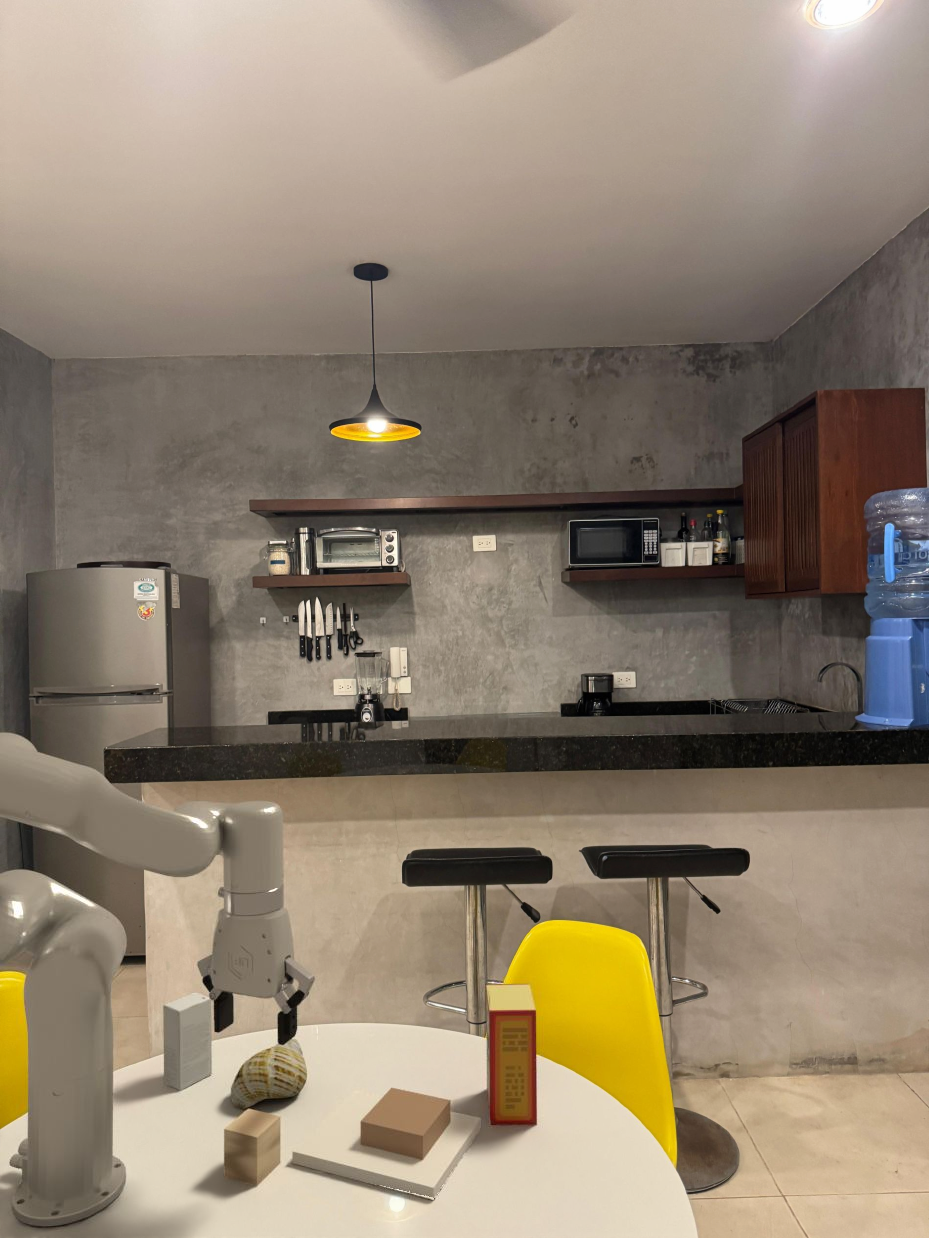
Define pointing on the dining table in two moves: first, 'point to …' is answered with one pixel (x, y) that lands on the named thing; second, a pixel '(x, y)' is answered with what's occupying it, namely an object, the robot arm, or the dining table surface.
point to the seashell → (270, 1075)
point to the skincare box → (187, 1040)
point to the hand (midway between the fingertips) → (255, 1033)
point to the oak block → (252, 1147)
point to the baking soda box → (511, 1054)
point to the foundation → (390, 1140)
